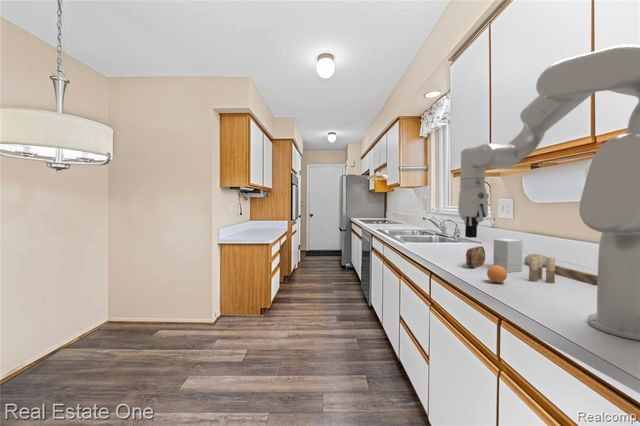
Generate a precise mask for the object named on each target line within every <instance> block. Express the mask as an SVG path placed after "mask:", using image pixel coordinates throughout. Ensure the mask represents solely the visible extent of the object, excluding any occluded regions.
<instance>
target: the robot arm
mask: <svg viewBox="0 0 640 426" xmlns="http://www.w3.org/2000/svg"><path fill="white" fill-rule="evenodd" d="M535 86H536V91H537V93H538V94H539V95H537V97H535V98H534V99H533V100H532V101H531V102H530V103H529V104H527V106H526V107H525V108H524V109H522V110H521V112H520V115H519V117H520V118H519V119H520V120H521V122H522V123H523V127H522V129H521V131H520V132H519V133H518V134H517V135H516V136H515V137H514V138H513V139H512V140H511V141H510V142H508V143H507V144H506V143H495V142H494V143H493V142H489V143H487V142H486V143H484V144H480V145H478V146H476V147H474V146H473V147H466V148H464V149H462V150H461V153H460V173H459V174H460V177H459V182H460V184H459V189H460V191H459V196H458V207H457V209H458V210H457V211H458V215H459V216H460V219H461V220H463V221H464V222H463V223H464V226H465V233H464V234H465V238H469V239H470V238H471V239H472V238H474V239H475V238H477V236H478V235H477V234H478V226H479V223H480V222H483V221H484V218H487V217H488V215H489V214H488V213H489V207H488V206H489V205H488V193H487V188H486V168H488V169H489V168H492V169H493V168H494V169H495V168H498V169H507V168H512V167H514V166H516V165H518V164H519V163H520V162H521V161H523V160H524V159H525V158H527V157H528V156H529V155H531V154H532V153H533V152H535V150H536V149H537V148H538V146H539V145H540V143H542V140H543V139H544V136H545V134H546V132H547V131H548V130H549V129H551V128H552V127H553V126H555V125H556V124H557V123H558V122H560V121H561V120H562V119H563V118H564V117H566V116H567V115H568V114H569V113H571V112H573V110H575V109H576V108H577V107H578V106H579V105H581V104H582V103H583V102H584V101H585V100H587V99H588V98H589V97H590V96H591V95H593V94H594V93H595V92H606V91H608V92H609V91H610V92H612V93H616V94H621V95H626V96H633V97H635V98H637V99H638V103H637V104H636V105H635V107H634V108H633V110H632V112H631V114H630V117H629V119H628V124H627V127H626V130H625V133H624V134H619V135H617V136H613V137H612V138H610V139H608V140H607V141H605V142H603V144H601V145H600V147H599V148H597V151H596V152H595V153H594V154H593V157H592V158H591V162H590V165H589V167H588V168H589V169H588V172H587V176H586V179H585V183H584V186H583V190H582V193H581V197H580V200H579V207H578V212H579V217H580V219H581V221H582V222H583V224H585V225H586V226H587V227H588V228H590V229H591V230H593V231H595V232H599V233H601V235H600V237H599V238H600V240H599V244H598V245H599V246H598V257H597V261H598V262H597V276H598V285H596V286H597V288H596V289H597V290H596V313H590V314H588V315H587V323H588V324H589V325H591V326H592V327H593V328H595V329H596V330H597V329H598V330H600V331H602V332H605V333H607V334H610V335H613V336H618V337H621V338H626V339H630V340H635V341H640V45H638V44H630V43H629V44H621V45H615V46H611V47H607V48H604V49H600V50H595V51H592V52H587V53H584V54H580V55H576V56H572V57H568V58H565V59H563V60H562V59H561V60H559V61H557V62H556V61H555V62H554V63H553V64H551V65H550V66H548V67H546V69H545V70H543V72H542V73H541V74H540V75H539V77H538V78H537V81H536V85H535Z"/></svg>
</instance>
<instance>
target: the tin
mask: <svg viewBox="0 0 640 426" xmlns="http://www.w3.org/2000/svg"><path fill="white" fill-rule="evenodd" d="M465 257H466V258H465V259H466V260H465V261H466V265H467V267H468V268H471V269H477V268H479V267H481V266H483V265H484V264H485V261H486V250H485V248H484V246H474V247H470V248H468V249H467V250H466V253H465Z"/></svg>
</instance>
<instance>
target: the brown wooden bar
mask: <svg viewBox="0 0 640 426" xmlns="http://www.w3.org/2000/svg"><path fill="white" fill-rule="evenodd" d="M555 275H558V276H562V277H565V278H568V279H573V280H575V281H579V282H583V283H586V284H590V285H593V286H597V285H598V274H597V275H596V274H592V273H588V272H584V271H580V270H577V269H576V270H575V269H571V268H568V267H563V266H559V265H556V264H555Z"/></svg>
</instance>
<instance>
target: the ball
mask: <svg viewBox="0 0 640 426" xmlns="http://www.w3.org/2000/svg"><path fill="white" fill-rule="evenodd" d="M486 275H487V277H488V279H489V280H490V281H491V282H493V283H496V284H499V283H503V282H504V281H505V280H506V279H507V277H508V272H506V270H505V269H504V268H503V267H501V266H498V265H494V264H493V265H492V266H490V267H489V268H488V269H487V272H486Z"/></svg>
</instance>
